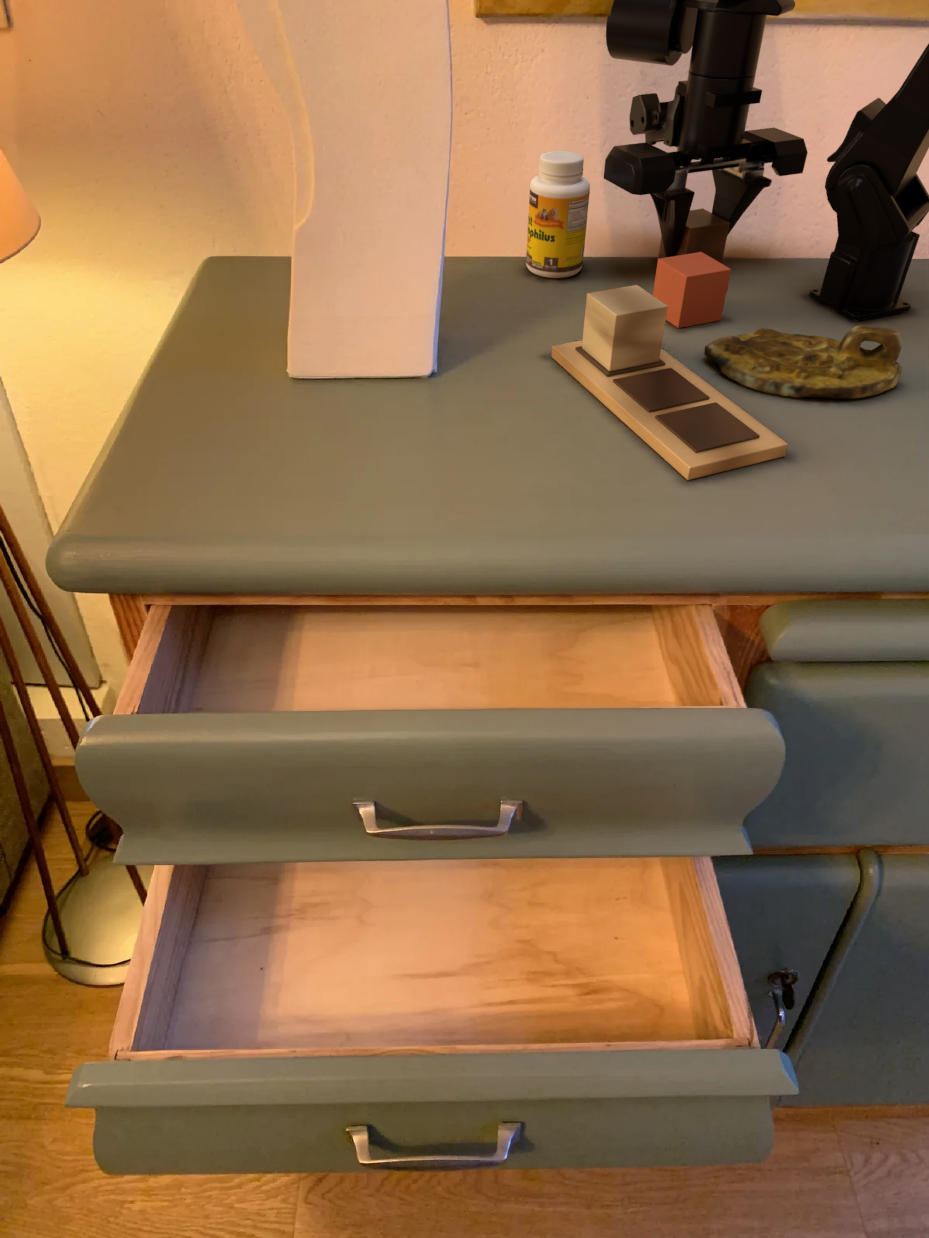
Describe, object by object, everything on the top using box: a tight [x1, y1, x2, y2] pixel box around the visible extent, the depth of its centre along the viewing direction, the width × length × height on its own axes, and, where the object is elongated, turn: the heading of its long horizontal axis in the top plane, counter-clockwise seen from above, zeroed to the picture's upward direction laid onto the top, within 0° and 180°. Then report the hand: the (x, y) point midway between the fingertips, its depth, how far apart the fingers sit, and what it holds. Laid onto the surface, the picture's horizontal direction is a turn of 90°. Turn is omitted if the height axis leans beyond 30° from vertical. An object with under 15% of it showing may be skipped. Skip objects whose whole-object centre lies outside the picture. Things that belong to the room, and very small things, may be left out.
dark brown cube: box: [657, 208, 730, 264], centre depth 87 cm, size 4×4×4 cm
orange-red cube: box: [652, 252, 732, 329], centre depth 78 cm, size 4×4×4 cm
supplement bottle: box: [525, 150, 591, 279], centre depth 84 cm, size 6×6×10 cm
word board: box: [551, 284, 789, 481], centre depth 66 cm, size 8×20×6 cm, turn 23°
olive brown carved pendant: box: [703, 324, 903, 400], centre depth 70 cm, size 9×5×15 cm
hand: (690, 255), depth 88 cm, fingers closed on dark brown cube, 4 cm apart
